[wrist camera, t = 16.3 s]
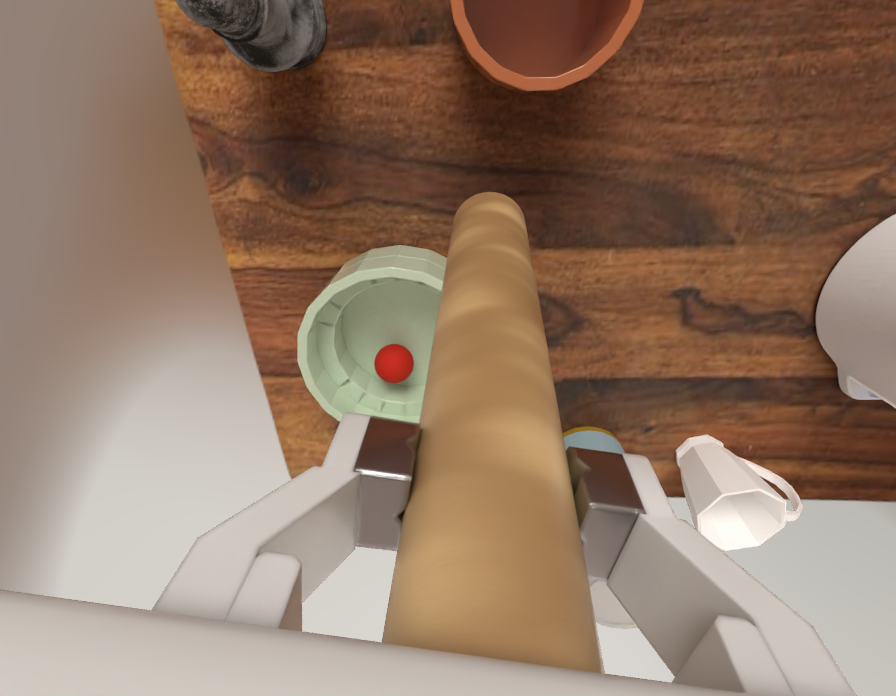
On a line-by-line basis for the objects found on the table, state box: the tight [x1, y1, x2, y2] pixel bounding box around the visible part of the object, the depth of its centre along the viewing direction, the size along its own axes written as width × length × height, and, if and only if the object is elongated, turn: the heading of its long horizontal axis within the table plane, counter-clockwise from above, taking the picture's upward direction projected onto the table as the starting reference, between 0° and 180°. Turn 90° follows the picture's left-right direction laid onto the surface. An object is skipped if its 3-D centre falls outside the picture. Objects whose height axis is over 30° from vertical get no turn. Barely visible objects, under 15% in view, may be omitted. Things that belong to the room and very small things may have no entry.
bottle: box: [563, 426, 637, 629], centre depth 38 cm, size 7×7×15 cm
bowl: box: [297, 245, 447, 423], centre depth 37 cm, size 14×14×6 cm
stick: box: [382, 192, 605, 674], centre depth 12 cm, size 3×3×18 cm
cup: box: [676, 435, 803, 551], centre depth 41 cm, size 7×10×8 cm
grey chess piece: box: [175, 0, 327, 72], centre depth 24 cm, size 6×6×12 cm
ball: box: [374, 344, 414, 383], centre depth 38 cm, size 3×3×3 cm
